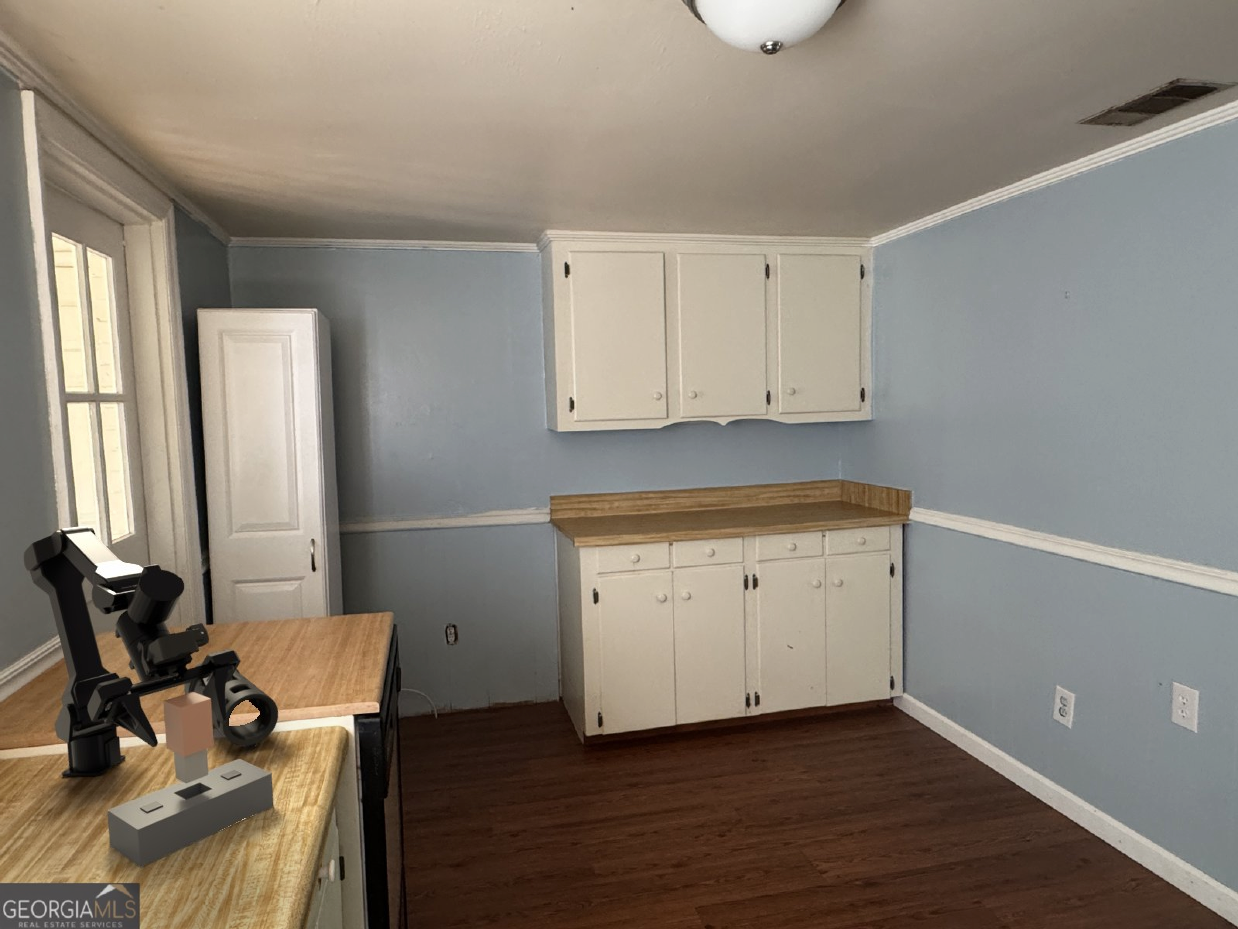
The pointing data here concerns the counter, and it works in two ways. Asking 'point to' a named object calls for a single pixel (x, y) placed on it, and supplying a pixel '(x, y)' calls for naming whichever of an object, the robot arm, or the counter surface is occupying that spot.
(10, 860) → the counter surface
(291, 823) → the counter surface
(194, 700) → the plug
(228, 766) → the socket block
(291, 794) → the counter surface
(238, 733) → the muzzle brake
